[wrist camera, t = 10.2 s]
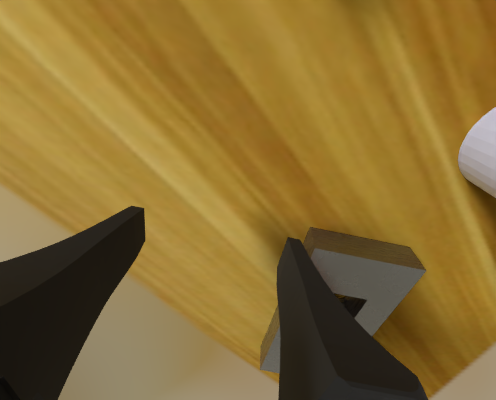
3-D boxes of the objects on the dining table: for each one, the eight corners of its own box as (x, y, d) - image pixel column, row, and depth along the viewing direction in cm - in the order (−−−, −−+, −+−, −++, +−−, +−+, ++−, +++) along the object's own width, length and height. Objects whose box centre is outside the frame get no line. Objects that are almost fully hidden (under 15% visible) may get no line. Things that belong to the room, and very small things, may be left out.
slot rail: (409, 247, 24) (426, 270, 21) (328, 358, 35) (333, 382, 33) (310, 226, 24) (315, 248, 21) (260, 346, 35) (260, 369, 32)
